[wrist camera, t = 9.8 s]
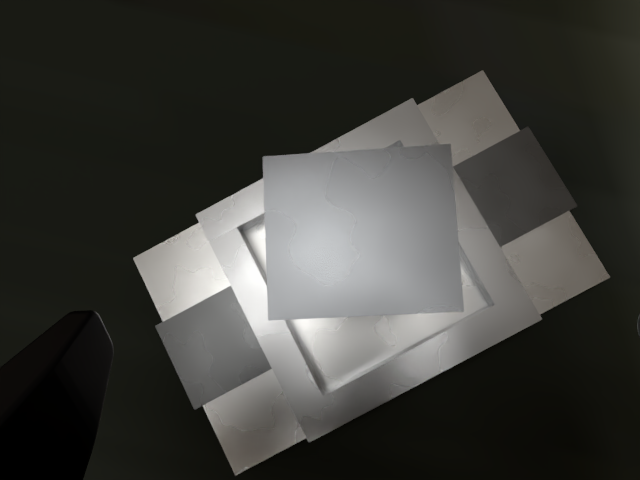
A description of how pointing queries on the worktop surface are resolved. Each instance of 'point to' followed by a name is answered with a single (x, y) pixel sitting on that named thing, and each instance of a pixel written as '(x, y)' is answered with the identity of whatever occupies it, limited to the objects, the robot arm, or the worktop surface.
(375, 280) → the grey rectangular block
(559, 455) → the worktop surface
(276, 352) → the grey tray
